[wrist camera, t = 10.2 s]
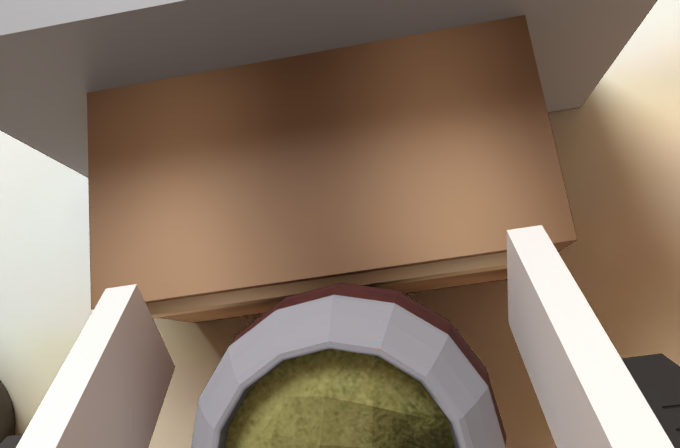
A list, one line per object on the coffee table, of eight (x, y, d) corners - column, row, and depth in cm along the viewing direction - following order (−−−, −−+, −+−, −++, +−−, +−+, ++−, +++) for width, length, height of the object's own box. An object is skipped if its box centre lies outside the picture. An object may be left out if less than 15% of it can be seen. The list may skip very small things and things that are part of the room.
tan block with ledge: (194, 330, 21) (91, 321, 14) (184, 171, 22) (87, 93, 15) (520, 286, 20) (579, 252, 13) (487, 122, 21) (525, 14, 14)
